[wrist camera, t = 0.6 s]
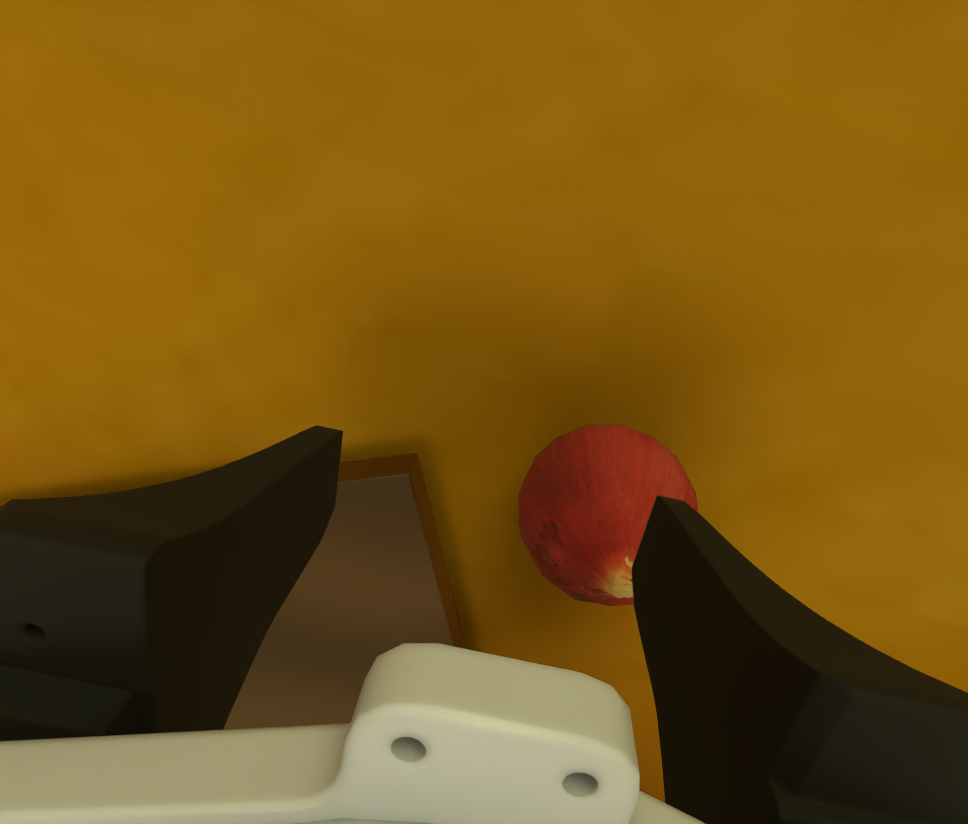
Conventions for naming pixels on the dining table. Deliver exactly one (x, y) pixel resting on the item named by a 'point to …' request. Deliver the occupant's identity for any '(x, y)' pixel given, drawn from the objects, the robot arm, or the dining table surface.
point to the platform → (353, 601)
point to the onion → (596, 508)
